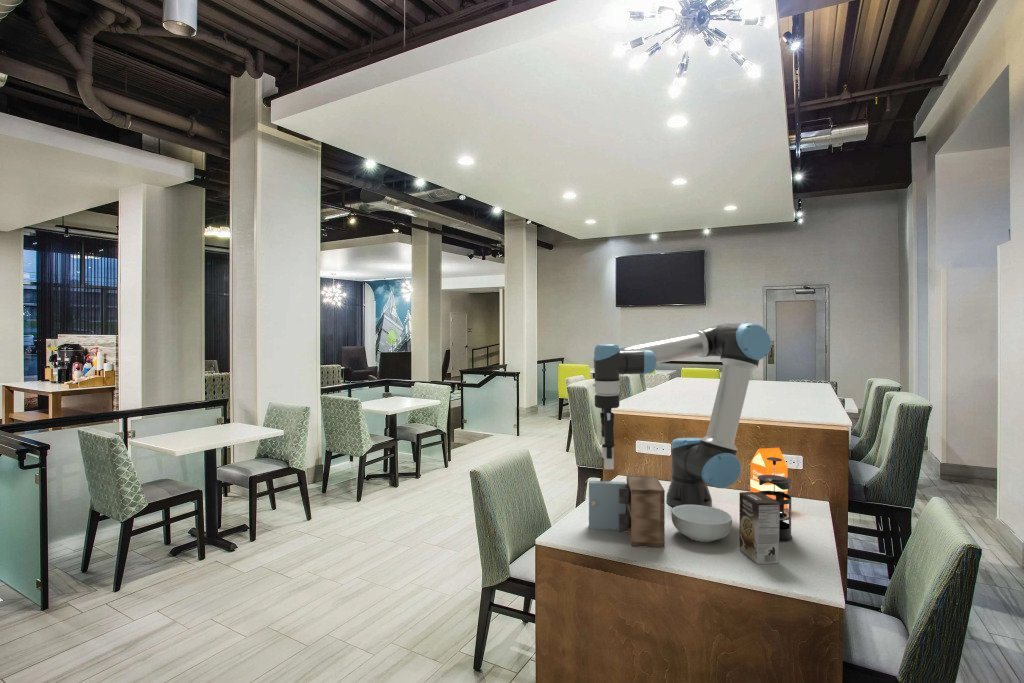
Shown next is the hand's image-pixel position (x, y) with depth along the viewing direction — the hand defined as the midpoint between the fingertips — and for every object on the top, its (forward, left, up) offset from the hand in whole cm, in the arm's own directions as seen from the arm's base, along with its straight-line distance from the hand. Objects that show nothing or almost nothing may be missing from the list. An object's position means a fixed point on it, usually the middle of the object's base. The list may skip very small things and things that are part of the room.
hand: (607, 463), depth 158 cm
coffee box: (-39, +17, -20) cm, 47 cm away
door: (0, 0, -20) cm, 20 cm away
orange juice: (-57, -26, -20) cm, 66 cm away
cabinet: (-9, +5, -20) cm, 23 cm away
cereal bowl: (-27, +5, -20) cm, 34 cm away
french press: (-49, +1, -20) cm, 53 cm away
